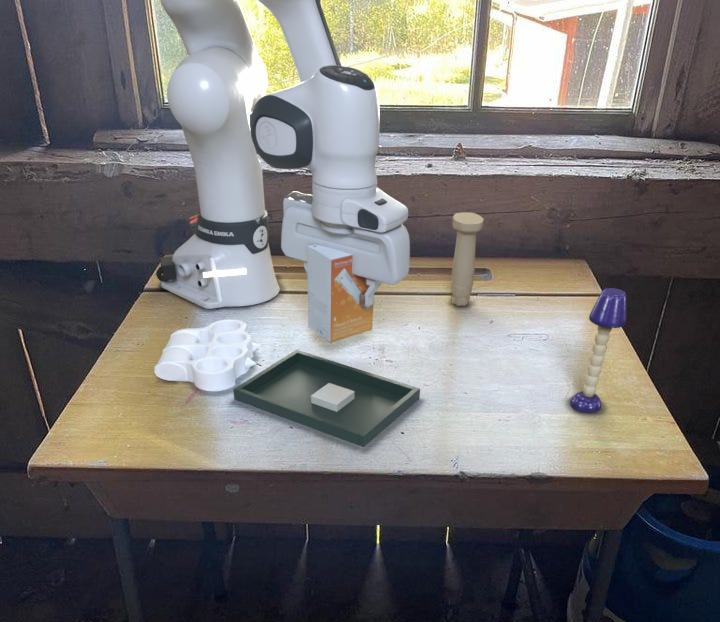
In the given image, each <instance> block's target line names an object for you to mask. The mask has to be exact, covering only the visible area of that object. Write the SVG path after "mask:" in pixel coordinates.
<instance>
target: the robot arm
mask: <svg viewBox="0 0 720 622" xmlns="http://www.w3.org/2000/svg"><path fill="white" fill-rule="evenodd" d="M256 1H257V2H258V3H259V4H261V5H262V6H263V7H265V8H266V9H267V10H268V11H269V12H270V13H271V15H272V16H273V17H274V18H275V20H276V21H277V23H278V25H279V27H280V29H281V31H282V34H283V37H284V39H285V42H286V44H287V45H286V46H287V47H288V50H289V53H290V55H291V59H292V61H293V64H294V66H295V70H296V72H297V74H298V77H299V81H300V83H298V84H295V85H293V86H292V85H291V86H289V87H287V88H283V89H280V90H279V89H278V90H276V91H273V92H270V93H268V94H266V92H267V87H268V72H267V69H266V66H265V62H263V59H262V57H260V55H259V53H258V50H257V47H256V44H255V41H254V38H253V36H252V33H251V29H250V26H249V25H248V21H247V19H246V17H245V14H244V12H243V9H242V6H241V3H240V0H160V3H161V6H162V8H163V10H164V12H165V14H166V15H167V16H168V17H169V18H170V20H171V22H172V23H173V25H174V27H175V29H176V30H177V33H178V35H179V37H180V39H181V41H182V43H183V46H184V48H185V51H186V53H187V56H185V57H184V58H183V59H182V60H181V61H180V62H179V63H178V64H177V66H176V68H175V69H174V70H173V72H172V74H171V75H170V78H169V79H168V82H167V88H166V89H167V90H166V98H167V102H168V106H169V109H170V111H171V113H172V115H173V117H174V118H175V120H176V121H177V122H178V124H180V127H181V130H182V132H183V135H184V138H185V141H186V144H187V147H188V150H189V153H190V156H191V160H192V164H193V169H194V173H195V182H196V189H197V195H198V196H197V197H198V204H199V212H198V214H195V215H192V216H190V217H189V219H192V220H191V221H190V222H189V224H191V225H192V224H195V223H196V226H195V231H194V234H193V235H192V236H191V237H189V238H188V239H187V240H186V241H185V242H184V243H183V244H182V245H180V246H179V247H178V248H177V249H176V250H175V251H174V253H173V255H170V256H161V257H159V263H160V266H159V267H158V268H157V270H156V272H155V276H156V278H157V279H158V280H159V281H160V283H161V284H160V287H161V288H162V289H163V290H166V291H168V292H170V293H172V294H173V295H176V296H179V297H181V298H182V299H185V300H186V301H189V302H190V303H193V304H195V305H197V306H199V307H201V308H202V309H207V310H213V309H219V308H227V307H228V308H231V307H232V308H233V307H247V306H254V305H258V304H262V303H265V302H267V301H270V300H272V299H274V298H275V297H276V296H278V294H279V293H280V290H281V289H280V285H279V284H278V279H277V276H276V272H275V269H274V265H273V260H272V259H273V258H272V254H271V249H270V244H269V238H270V224H269V222H270V221H269V215H268V211H267V210H266V207H265V206H266V203H265V192H264V190H265V189H264V176H263V166H262V161H264V162H265V164H267V165H268V166H270V167H271V168H273V169H279V170H295V169H304V168H305V169H308V170H309V171H310V172H311V183H312V184H311V194H309V193H302V192H300V191H298V190H297V191H295V190H294V191H291V192H290V193H288V194H287V195H286V196H285V197H284V198H283V202H282V210H283V217H282V222H281V223H282V225H281V235H280V248H281V250H282V252H283V254H284V256H286V257H288V258H292V259H295V260H299V261H303V268H304V270H305V273H307V246H310V245H320V246H324V247H328V248H332V249H336V250H339V251H342V252H346V253H349V254H352V256H353V260H352V274H353V275H357V276H360V277H364V278H366V284H367V285H370V286H369V288H368V290H365V291H364V292H362V293H360V295H359V298H360V301H359V304H360V305H364V306H367V307H369V306H371V305H372V304H373V305H374V303H375V302H374V301H375V293H376V292H377V291H378V289H379V288H380V286H381V285H382V283H383V284H386V285H390V286H394V285H396V284H398V283H400V282H402V281H403V280H404V279H405V278H406V277H407V276H408V275H409V272H410V263H411V262H410V260H411V242H410V241H411V240H410V235H409V232H408V231H409V230H408V229H407V228H406V226H405V225H403V224H404V223H405V222H407V221H408V218H409V209H408V207H407V206H406V205H405V204H403V203H402V202H400V201H399V200H396V199H395V198H393V197H392V196H390V195H388V194H387V193H385V192H384V191H383V190H382V189H381V188H379V187H378V174H377V171H376V170H377V169H376V158H377V154H378V151H379V148H380V122H381V121H380V120H381V119H380V101H379V93H378V89H377V86H376V83H375V80H374V79H372V77H370V76H369V75H368V74H367V73H366V72H365V71H362V70H360V69H357V68H354V67H350V66H345V65H344V66H343V65H342V64H341V60H340V58H339V55H338V51H337V49H336V45H335V43H334V40H333V37H332V33H331V31H330V28H329V25H328V22H327V20H326V16H325V13H324V11H323V7H322V4H321V1H320V0H256ZM258 156H259V157H260V158H261V159H262V161H261V160H260V159H259V157H258ZM373 302H374V303H373Z"/></svg>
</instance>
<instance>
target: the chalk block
mask: <svg viewBox="0 0 720 622" xmlns="http://www.w3.org/2000/svg"><path fill="white" fill-rule="evenodd" d="M354 398H355V392H354V391H352V390H349V389H346V388H343V387H340V386H337V385H334V384H331V383H328V384H327V385H325V386H324V387H322V388H321V389H320V390H318V391H317V392H315V393H314V394H313V395H311V403H313V404H316V405H319V406H321V407H324V408H327V409H330V410H333V411H336V412H338V411H339V410H340V409H342V408H343V407H344V406H345V405H347V404H348V403H349V402H351V401H352V400H353V399H354Z"/></svg>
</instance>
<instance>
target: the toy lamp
mask: <svg viewBox="0 0 720 622" xmlns="http://www.w3.org/2000/svg"><path fill="white" fill-rule="evenodd" d="M588 320H589V321H590V322H591V323H592V324H593V325H596V326H597V332H596V334H595V336H594V341H595V342H594V343H593V345H592V352H591V354H590V357H589V365H588V366H587V371H586V373H587V374H586V376H585V378H584V385H583V387H582V391H579V392H576V393H575V394H574V395H573V396H572V397H571V400H570V401H569V404H570V406H571V407H572V409H574V410H576V411H577V412H581V413H587V414H592V413H593V414H594V413H598V412H600V410H602V400H601V397H600V396H598V395H597V394H596V393H597V385H598V384H599V381H600V374H601V373H602V370H603V369H602V367H603V366H602V365H603V363H604V360H605V354H606V352H607V348H608V345H607V344H608V343H609V341H610V333H611V332H612V330H613V329H620V328H622V327H624V326H625V325H626V323H627V294H626V292H625V291H624V290H622V289H618V288H613V287H612V288H611V287H608V288H604V289H602V291H601V292H600V294H599V295H598V297H597V299H596V301H595V303H594V305H593V306H592V309H591V311H590V312H589V316H588Z"/></svg>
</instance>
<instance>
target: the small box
mask: <svg viewBox="0 0 720 622" xmlns="http://www.w3.org/2000/svg"><path fill="white" fill-rule="evenodd" d="M352 260H353V256H352V254H349V253H346V252H342V251H339V250H336V249H332V248H328V247H324V246H320V245H310V246H307V272H306V275H307V277H306V278H307V328H308V329H310V330H311V331H312V332H314V333H315V334H316V335H318V336H319V337H320V338H322V339H323V340H325V341H327V343H329V344H332V343H334V342H337V341H338V342H339V341H340V340H341V341H342V340H344V339H347V338H350V337H353V336H357V335H359V334H362V333H367V332H370V331H372V330H373V322H374V321H373V319H374V303H375V302H373V304H372V305H371V306H369V307H367V306H364V305H360V304H359V301H360V298H359V295H360V293H362V292H364V291H365V290H368V288H369V286H370V285H367V284H366V278H364V277H360V276H357V275H353V274H352Z"/></svg>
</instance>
